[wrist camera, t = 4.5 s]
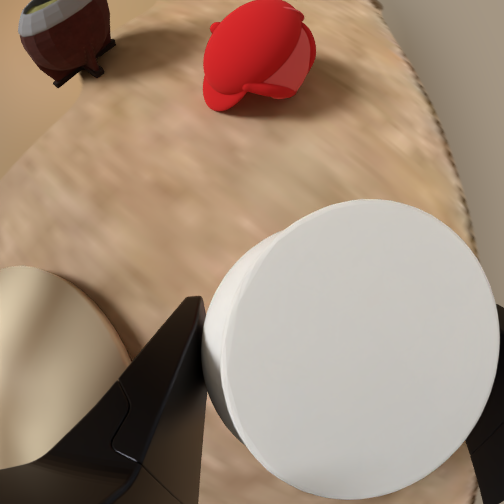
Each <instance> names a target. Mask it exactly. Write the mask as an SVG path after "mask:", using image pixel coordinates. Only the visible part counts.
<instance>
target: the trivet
mask: <svg viewBox="0 0 504 504" xmlns="http://www.w3.org/2000/svg"><path fill="white" fill-rule="evenodd" d="M130 363H131V360H130V357H129V355H128V353H127V350H126V348H125V346H124V344H123V342H122V341H121V339H120V337H119V335H118V333H117V331H116V330H115V328H114V327H113V325H112V324H111V322H110V321H109V319H108V318H107V316H106V315H105V314H104V313H103V312H102V310H101V309H100V308H99V307H98V306H97V304H96V303H95V302H94V301H93V300H92V299H91V298H90V297H89V296H87V295H86V294H85V293H84V292H83V291H82V290H81V289H79V288H78V287H76V286H75V285H74V284H72V283H71V282H69V281H67V280H65V279H63V278H61V277H60V276H57V275H55V274H52V273H50V272H47V271H44V270H41V269H38V268H35V267H29V266H11V267H7V268H3V269H1V270H0V469H4V468H9V467H14V466H18V465H23V464H27V463H30V462H32V461H35V460H37V459H38V458H40V457H42V456H43V455H44V454H46V453H47V452H48V451H49V450H50V449H51V448H53V447H54V446H55V445H56V444H57V443H58V442H59V441H60V440H61V439H62V438H63V437H64V436H65V435H66V434H67V433H68V432H69V431H70V430H71V429H72V428H73V427H74V426H75V425H76V424H77V423H78V422H79V421H80V420H81V419H82V418H83V417H84V416H85V415H86V414H87V413H88V412H89V411H90V410H91V409H92V408H93V407H94V406H95V405H96V404H97V402H98V401H99V400H100V399H101V398H102V397H103V396H104V394H105V393H106V392H107V391H108V390H109V389H110V387H111V386H112V385H113V384H114V382H115V381H117V380H118V378H119V377H120V375H121V374H122V373H123V372H124V371H125V369H126V368H127V367H128V366H129V365H130ZM118 381H119V380H118Z"/></svg>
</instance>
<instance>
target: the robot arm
mask: <svg viewBox="0 0 504 504" xmlns="http://www.w3.org/2000/svg"><path fill="white" fill-rule="evenodd" d="M496 308H497V313H498V320H499V331H500V345H499V358H498V364H497V370H496V375H495V379H494V383H493V386H492V390H491V393H490V395H489V398H488V400H487V403H486V405H485V407H484V410H483V412H482V414H481V416H480V418H479V420H478V421H477V423H476V425H475V426H474V428H473V429H472V431H471V432H470V434H469V435H468V437H467V438H466V439H465V441H466V444H467V447H468V450H469V453H470V455H471V456H470V457H471V460H472V463H473V467H474V470H475V474H476V477H477V481H478V484H479V488H480V492H481V496H482V500H483V504H499V503H501V502H502V501H504V308H503V307H501V306H499V305H498V304H496ZM205 318H206V313H205V307H204V302H203V298H202V297H201V296H190V297H186V298H185V299H184V300H183V302H182V303H181V304H180V305H179V306H178V308H177V309H176V310H175V311H174V312H173V313H172V315H171V316H170V317H169V318H168V319H167V320H166V322H165V323H164V324H163V325H162V326H161V328H160V329H159V330H158V331H157V332H156V333H155V335H154V336H153V337H152V338H151V339H150V341H149V342H148V343H147V344H146V345H145V347H144V348H143V349H142V350H141V351H140V353H139V354H138V355H137V356H136V357H135V359H134V360H133V361H132V362H131V363H130V365H129V366H128V367H127V368H126V369H125V371H124V372H123V373H122V374H121V375H120V377H119V378H118V380H119V381H118V380H117V381H115V382H114V384H113V385H112V386H111V387H110V389H109V390H108V391H107V392H106V393H105V394H104V396H103V397H102V398H101V399H100V400H99V401H98V402H97V404H96V405H95V406H94V407H93V408H92V409H91V410H90V411H89V412H88V413H87V414H86V415H85V416H84V417H83V418H82V419H81V420H80V421H79V422H78V423H77V424H76V425H75V426H74V427H73V428H72V429H71V430H70V431H69V432H68V433H67V434H66V435H65V436H64V437H63V438H62V439H61V440H60V441H59V442H58V443H57V444H56V445H55V446H54V447H53V448H51V449H50V450H49V451H48V452H47V453H46V454H44V455H43V456H42V457H40V458H38V459H37V460H35V461H32V462H30V463H27V464H23V465H18V466H14V467H9V468H4V469H0V504H198V497H199V483H200V469H201V457H202V444H203V432H204V421H205V410H206V399H207V388H206V385H205V381H204V376H203V371H202V361H201V343H202V333H203V327H204V322H205Z"/></svg>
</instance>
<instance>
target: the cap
mask: <svg viewBox="0 0 504 504" xmlns="http://www.w3.org/2000/svg"><path fill="white" fill-rule="evenodd" d="M303 20H304V15H303V14H302V13H301V12H300V11H298V10H296V9H295V8H294V7H293V6H292V5H290V4H289V3H287V2H285V1H282V0H255V1H252V2H249V3H246V4H244V5H242V6H240V7H239V8H237V9H236V10H234V11H233V12H231V13H230V14H229V15H228V16H227V17H225V18H224V19H223V20H222V22H215V23H213V24H212V25H211V27H210V31H211V32H212V35H211V37H210V39H209V41H208V44H207V46H206V50H205V54H204V62H203V66H204V73H205V76H204V81H203V95H204V99H205V102H206V104H207V105H208V107H209V108H211V109H212V110H214V111H225V110H227V109H229V108H231V107H233V106H234V105H236V104H237V103H238V102H239V101H240V100H241V99H242V98H243V97H244V96H245V94H246V93H247V92H251V93H255V94H259V95H263V96H268V97H272V98H275V99H284V98H290V97H292V96H294V95H295V94H296V93H297V90H298V89H299V88H300V86H301V85H302V83H303V81H304V80H305V78H306V76H307V74H308V72H309V71H310V69H311V67H312V65H313V63H314V60H315V56H316V45H315V41H314V37H313V35H312V33H311V31H310V29H309V28H308V27H307V26H306V25H305V24H304V23H303V22H302V21H303Z"/></svg>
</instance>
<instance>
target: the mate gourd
mask: <svg viewBox="0 0 504 504" xmlns="http://www.w3.org/2000/svg"><path fill="white" fill-rule="evenodd" d="M18 32H19V34H20V38H21V42H22V44H23V47H24V49H25V50H26V51H27V53H28V54H29V55H30V57H31V58H32V60H33V61H34V62H35V63H36V65H37V66H38V67H39V68H40V70H42V71H43V72H44V73H46V74H47V75H48V76H50V77H51V78H53V79H54V80H55V81H54V82H53V84H54V85H55V86H56V87H57V88H59V87H61V86H62V85H63V84H64V83H66V82H67V81H68V80H69V79H71V78H72V77H73V76H74V75H76V74H77V73H78V72H80V71H81V70H83V69H85V70H86V71H88V72H89V73H90V74H92V75H93V76H95V77H96V78H98V77H100V76H101V75H102V74H104V70H103V68H102V67H101V66H99V65H98V64H97V61H96V59H97V58H98V57H99V56H101V55H102V54H104V53H105V52H107V51H108V50H109V49H111V48H112V47H114V46H115V45H116V44H115V40H114V39H111V37H110V12H109V8H108V3H107V0H32V1H31V2H30V3H29V4H28V5H27V6H26V7H25V8H24V9H23V11H22V13H21V16H20V21H19V28H18Z"/></svg>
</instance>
